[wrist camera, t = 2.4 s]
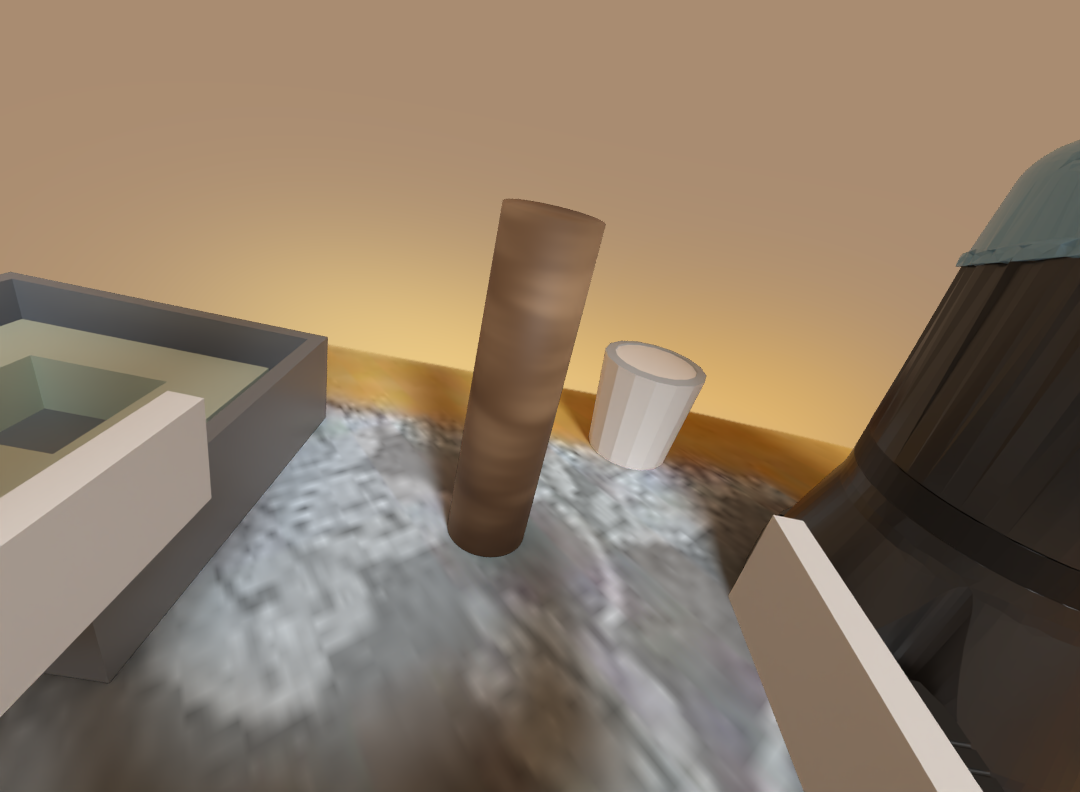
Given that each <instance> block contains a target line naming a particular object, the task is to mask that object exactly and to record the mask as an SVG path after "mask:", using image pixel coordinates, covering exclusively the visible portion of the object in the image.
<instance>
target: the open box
mask: <svg viewBox="0 0 1080 792" xmlns="http://www.w3.org/2000/svg"><path fill="white" fill-rule="evenodd" d="M327 345H328V338H327V337H325V336H320V335H315V334H310V333H305V332H300V331H295V330H291V329H286V328H281V327H276V326H271V325H266V324H261V323H256V322H252V321H247V320H242V319H237V318H232V317H227V316H222V315H218V314H213V313H207V312H203V311H198V310H193V309H188V308H183V307H179V306H174V305H169V304H163V303H159V302H154V301H149V300H144V299H139V298H135V297H129V296H125V295H120V294H115V293H111V292H106V291H100V290H95V289H91V288H86V287H81V286H76V285H72V284H67V283H62V282H57V281H52V280H47V279H42V278H37V277H33V276H28V275H23V274H18V273H13V272H8V273H4V274H0V498H1V497H2V496H4V495H6V494H7V493H9V492H10V491H12V490H13V489H15V488H16V487H18V486H20V485H21V484H23V483H24V482H26V481H27V480H29V479H31V478H32V477H34V476H35V475H37V474H38V473H40V472H41V471H43V470H45V469H46V468H48V467H49V466H51V465H52V464H54V463H56V462H57V461H59V460H60V459H62V458H63V457H65V456H66V455H68V454H70V453H71V452H73V451H74V450H76V449H77V448H79V447H80V446H82V445H84V444H85V443H87V442H88V441H90V440H91V439H93V438H95V437H96V436H98V435H99V434H101V433H102V432H104V431H105V430H107V429H109V428H110V427H112V426H113V425H115V424H116V423H118V422H120V421H121V420H123V419H124V418H126V417H127V416H129V415H130V414H132V413H134V412H135V411H137V410H138V409H140V408H141V407H143V406H145V405H146V404H148V403H149V402H151V401H152V400H154V399H155V398H157V397H159V396H160V395H162V394H163V393H165V392H166V391H171V392H176V393H181V394H186V395H191V396H196V397H201V398H204V403H205V417H206V430H207V444H208V457H209V471H210V484H211V499H210V500H209V501H208V502H207V503H206V504H205V505H204V506H203V507H202V508H201V509H200V510H199V512H198V513H197V514H196V515H195V516H194V517H193V518H192V519H191V520H190V521H189V522H188V523H187V524H186V525H185V526H184V527H183V528H182V529H181V530H180V531H179V532H178V533H177V534H176V535H175V536H174V537H173V539H172V540H171V541H170V542H169V543H168V544H167V545H166V546H165V547H164V548H163V549H162V550H161V551H160V552H159V553H158V554H157V555H156V556H155V557H154V558H153V559H152V560H151V561H150V562H149V563H148V564H147V565H146V567H145V568H144V569H143V570H142V571H141V572H140V573H139V574H138V575H137V576H136V577H135V578H134V579H133V580H132V581H131V582H130V583H129V584H128V585H127V586H126V587H125V588H124V589H123V590H122V591H121V592H120V593H119V595H118V596H117V597H116V598H115V599H114V600H113V601H112V602H111V603H110V604H109V605H108V606H107V607H106V608H105V609H104V610H103V611H102V612H101V613H100V614H99V615H98V616H97V617H96V618H95V619H94V620H93V621H92V623H91V624H90V625H89V626H88V627H87V628H86V629H85V630H84V631H83V632H82V633H81V634H80V635H79V636H78V637H77V638H76V639H75V640H74V641H73V642H72V643H71V644H70V645H69V646H68V647H67V648H66V649H65V651H64V652H63V653H62V654H61V655H60V656H59V657H58V658H57V659H56V660H55V661H54V662H53V663H52V664H51V665H50V666H49V667H48V668H47V669H46V670H45V671H44V672H43V673H46V674H52V675H59V676H66V677H72V678H79V679H85V680H92V681H99V682H105V683H110V682H111V680H112V679H113V678H114V677H115V675H116V674H117V673H118V672H119V671H120V669H121V668H122V667H123V666H124V664H125V663H126V662H127V661H128V660H129V658H130V657H131V656H132V655H133V653H134V652H135V651H136V650H137V648H138V647H139V646H140V645H141V644H142V642H143V641H144V640H145V639H146V637H147V636H148V635H149V634H150V632H151V631H152V630H153V629H154V628H155V626H156V625H157V624H158V623H159V621H160V620H161V619H162V618H163V616H164V615H165V614H166V613H167V612H168V610H169V609H170V608H171V607H172V605H173V604H174V603H175V602H176V601H177V599H178V598H179V597H180V596H181V594H182V593H183V592H184V591H185V589H186V588H187V587H188V586H189V585H190V583H191V582H192V581H193V580H194V578H195V577H196V576H197V575H198V573H199V572H200V571H201V570H202V569H203V567H204V566H205V565H206V564H207V562H208V561H209V560H210V559H211V557H212V556H213V555H214V554H215V553H216V551H217V550H218V549H219V548H220V546H221V545H222V544H223V543H224V542H225V540H226V539H227V538H228V537H229V535H230V534H231V533H232V532H233V530H234V529H235V528H236V527H237V526H238V524H239V523H240V522H241V521H242V519H243V518H244V517H245V516H246V514H247V513H248V512H249V511H250V510H251V508H252V507H253V506H254V505H255V503H256V502H257V501H258V500H259V498H260V497H261V496H262V495H263V494H264V492H265V491H266V490H267V489H268V487H269V486H270V485H271V484H272V482H273V481H274V480H275V479H276V478H277V476H278V475H279V474H280V473H281V471H282V470H283V469H284V468H285V467H286V465H287V464H288V463H289V462H290V460H291V459H292V458H293V457H294V455H295V454H296V453H297V452H298V451H299V449H300V448H301V447H302V446H303V444H304V443H305V442H306V441H307V439H308V438H309V437H310V436H311V435H312V433H313V432H314V431H315V430H316V428H317V427H318V426H319V425H320V423H321V422H322V421H323V420H324V419H325V417H326V386H327Z"/></svg>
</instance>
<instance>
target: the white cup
mask: <svg viewBox="0 0 1080 792" xmlns="http://www.w3.org/2000/svg"><path fill="white" fill-rule="evenodd" d="M705 379H706V375H705V373H704V372H703V370H702V369H701V367H699V366H698V365H697V364H695V363H694V362H692V361H691V360H690V359H688V358H686V357H684V356H682V355H680V354H678V353H676V352H673V351H671V350H668V349H665V348H662V347H659V346H656V345H651V344H646V343H642V342H635V341H618V342H614V343H610V345H609V346H608V347H607V348H606V350H605V355H604V360H603V365H602V370H601V376H600V381H599V386H598V391H597V396H596V401H595V406H594V412H593V417H592V422H591V427H590V432H589V441H590V445H591V446H592V447H593V449H594V450H595V451H596V452H597V453H598V454H599V455H600V456H602V457H603V458H605V459H606V460H608V461H609V462H612V463H614V464H616V465H619V466H621V467H624V468H629V469H634V470H640V471H641V470H652V469H655V468H657V467H659V466H660V465H662V463H663V461H664V459H665V457H666V455H667V453H668V452H669V450H670V448H671V446H672V444H673V442H674V440H675V438H676V436H677V434H678V432H679V430H680V429H681V427H682V425H683V423H684V421H685V419H686V417H687V415H688V413H689V411H690V409H691V408H692V405H693V404H694V402H695V400H696V398H697V396H698V394H699V392H700V390H701V388H702V386H703V385H704V383H705Z"/></svg>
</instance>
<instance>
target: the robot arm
mask: <svg viewBox="0 0 1080 792" xmlns="http://www.w3.org/2000/svg"><path fill="white" fill-rule="evenodd" d="M956 267H961V268H960V270H959V272H958V274H957V275H956V277H955V279H954V280H953V282H952V284H951V286H950V287H949V289H948V291H947V292H946V294H945V296H944V297H943V299H942V301H941V302H940V304H939V306H938V308H937V309H936V311H935V313H934V314H933V316H932V318H931V319H930V321H929V323H928V325H927V326H926V328H925V330H924V331H923V333H922V335H921V337H920V338H919V340H918V342H917V343H916V345H915V347H914V348H913V350H912V352H911V354H910V355H909V357H908V359H907V360H906V362H905V364H904V365H903V367H902V369H901V371H900V372H899V374H898V376H897V377H896V379H895V380H894V382H893V384H892V385H891V387H890V389H889V390H888V392H887V393H886V395H885V397H884V398H883V400H882V402H881V403H880V405H879V407H878V408H877V410H876V412H875V413H874V415H873V416H872V418H871V420H870V422H869V424H868V425H867V427H866V429H865V431H864V432H863V434H862V435H861V437H860V439H859V440H858V442H857V444H856V446H855V447H854V449H853V450H852V452H851V453H850V455H849V456H848V457H847V459H846V460H845V461H844V462H843V463H842V464H841V465H839V466H838V467H837V468H836V469H835V470H833V471H832V472H831V473H830V474H829V475H828V476H826V477H825V478H824V479H823V480H822V481H821V482H820V483H819V484H818V485H816V486H815V487H814V488H813V489H812V490H811V491H810V492H808V493H807V494H806V495H805V496H804V497H803V498H802V499H801V500H800V501H799V502H798V503H797V504H795V505H794V506H793V507H790V508H788V509H786V510H783V511H782V512H781V513H779V514H778V515H773V516H772V518H771V519H770V521H769V523H768V524H767V525H766V526H765V528H764V529H763V531H762V532H761V534H760V536H759V538H758V539H757V541H756V543H755V545H754V547H753V549H752V550H751V552H750V554H749V556H748V558H747V560H746V563H745V567H744V568H743V570H742V572H741V574H740V576H739V578H738V579H737V581H736V583H735V585H734V587H733V588H732V590H731V592H730V594H729V596H728V597H729V599H730V602H731V605H732V607H733V610H734V612H735V615H736V618H737V620H738V623H739V625H740V628H741V630H742V633H743V636H744V638H745V641H746V643H747V646H748V648H749V651H750V654H751V656H752V659H753V661H754V664H755V667H756V669H757V672H758V674H759V677H760V679H761V682H762V685H763V687H764V690H765V692H766V695H767V698H768V700H769V703H770V705H771V708H772V710H773V713H774V716H775V718H776V721H777V723H778V726H779V728H780V731H781V734H782V736H783V739H784V741H785V744H786V747H787V749H788V752H789V754H790V757H791V759H792V762H793V765H794V767H795V770H796V772H797V775H798V778H799V780H800V783H801V785H802V788H803V790H804V792H1080V140H1078V141H1075V142H1073V143H1070V144H1068V145H1065V146H1062V147H1060V148H1058V149H1056V150H1054V151H1053V152H1051V153H1049V154H1048V155H1046V156H1044V157H1043V158H1041V159H1040V160H1038V161H1037V162H1036V163H1034V164H1033V165H1032V166H1031V167H1030V168H1028V169H1027V170H1026V171H1025V172H1024V173H1023V175H1021V177H1020V178H1019V179H1018V181H1017V182H1016V183H1015V185H1014V186H1013V187H1012V189H1011V190H1010V192H1009V194H1008V195H1007V196H1006V198H1005V199H1004V201H1003V202H1002V204H1001V205H1000V207H999V208H998V210H997V211H996V213H995V214H994V216H993V217H992V219H991V220H990V222H989V223H988V225H987V226H986V228H985V229H984V230H983V232H982V233H981V235H980V236H979V238H978V239H977V241H976V242H975V244H974V245H973V247H972V248H971V250H970V251H969V252H966V253H964V254H962V256H961V257H960V258H959V260H958V263H957V264H956ZM210 499H211V484H210V471H209V457H208V444H207V430H206V417H205V403H204V398H201V397H196V396H191V395H186V394H181V393H176V392H171V391H166V392H165V393H163V394H162V395H160V396H159V397H157V398H155V399H154V400H152V401H151V402H149V403H148V404H146V405H145V406H143V407H141V408H140V409H138V410H137V411H135V412H134V413H132V414H130V415H129V416H127V417H126V418H124V419H123V420H121V421H120V422H118V423H116V424H115V425H113V426H112V427H110V428H109V429H107V430H105V431H104V432H102V433H101V434H99V435H98V436H96V437H95V438H93V439H91V440H90V441H88V442H87V443H85V444H84V445H82V446H80V447H79V448H77V449H76V450H74V451H73V452H71V453H70V454H68V455H66V456H65V457H63V458H62V459H60V460H59V461H57V462H56V463H54V464H52V465H51V466H49V467H48V468H46V469H45V470H43V471H41V472H40V473H38V474H37V475H35V476H34V477H32V478H31V479H29V480H27V481H26V482H24V483H23V484H21V485H20V486H18V487H16V488H15V489H13V490H12V491H10V492H9V493H7V494H6V495H4V496H2V497H1V498H0V717H1V716H2V715H3V714H4V713H5V712H6V711H7V710H8V709H9V708H10V707H11V705H12V704H13V703H14V702H15V701H16V700H17V699H18V698H19V697H20V696H21V695H22V694H23V693H24V692H25V691H26V690H27V689H28V688H29V687H30V686H31V685H32V684H33V683H34V682H35V681H36V680H37V679H38V677H39V676H40V675H41V674H42V673H43V672H44V671H45V670H46V669H47V668H48V667H49V666H50V665H51V664H52V663H53V662H54V661H55V660H56V659H57V658H58V657H59V656H60V655H61V654H62V653H63V652H64V651H65V649H66V648H67V647H68V646H69V645H70V644H71V643H72V642H73V641H74V640H75V639H76V638H77V637H78V636H79V635H80V634H81V633H82V632H83V631H84V630H85V629H86V628H87V627H88V626H89V625H90V624H91V623H92V621H93V620H94V619H95V618H96V617H97V616H98V615H99V614H100V613H101V612H102V611H103V610H104V609H105V608H106V607H107V606H108V605H109V604H110V603H111V602H112V601H113V600H114V599H115V598H116V597H117V596H118V595H119V593H120V592H121V591H122V590H123V589H124V588H125V587H126V586H127V585H128V584H129V583H130V582H131V581H132V580H133V579H134V578H135V577H136V576H137V575H138V574H139V573H140V572H141V571H142V570H143V569H144V568H145V567H146V565H147V564H148V563H149V562H150V561H151V560H152V559H153V558H154V557H155V556H156V555H157V554H158V553H159V552H160V551H161V550H162V549H163V548H164V547H165V546H166V545H167V544H168V543H169V542H170V541H171V540H172V539H173V537H174V536H175V535H176V534H177V533H178V532H179V531H180V530H181V529H182V528H183V527H184V526H185V525H186V524H187V523H188V522H189V521H190V520H191V519H192V518H193V517H194V516H195V515H196V514H197V513H198V512H199V510H200V509H201V508H202V507H203V506H204V505H205V504H206V503H207V502H208V501H209V500H210Z"/></svg>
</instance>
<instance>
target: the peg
mask: <svg viewBox="0 0 1080 792" xmlns="http://www.w3.org/2000/svg"><path fill="white" fill-rule="evenodd" d="M605 225H606V224H605V223H604V222H603V221H601V220H599V219H597V218H594V217H592V216H589V215H586V214H583V213H580V212H577V211H573V210H570V209H566V208H562V207H558V206H553V205H549V204H545V203H540V202H534V201H528V200H521V199H504V200H503V202H502V208H501V214H500V220H499V226H498V232H497V237H496V243H495V249H494V255H493V261H492V267H491V273H490V279H489V285H488V290H487V297H486V302H485V308H484V314H483V320H482V325H481V332H480V337H479V343H478V349H477V355H476V361H475V367H474V372H473V378H472V384H471V390H470V396H469V402H468V408H467V414H466V419H465V425H464V431H463V437H462V443H461V449H460V455H459V461H458V466H457V472H456V478H455V484H454V490H453V496H452V502H451V508H450V513H449V519H448V532H449V535H450V537H451V539H452V540H453V541H454V542H455V543H456V544H457V545H458V546H459V547H460V548H462V549H463V550H465V551H467V552H469V553H471V554H474V555H478V556H483V557H499V556H503V555H507V554H509V553H511V552H513V551H514V550H515V549H517V548H518V547H519V545H520V544H521V542H522V540H523V537H524V533H525V529H526V526H527V522H528V518H529V514H530V510H531V507H532V503H533V499H534V495H535V491H536V488H537V484H538V480H539V476H540V472H541V469H542V465H543V461H544V457H545V453H546V450H547V446H548V442H549V438H550V434H551V431H552V427H553V423H554V419H555V415H556V412H557V408H558V404H559V400H560V396H561V393H562V389H563V385H564V381H565V377H566V373H567V370H568V366H569V362H570V358H571V355H572V350H573V346H574V343H575V339H576V335H577V332H578V328H579V324H580V320H581V316H582V312H583V309H584V305H585V301H586V297H587V294H588V290H589V286H590V282H591V278H592V275H593V271H594V267H595V263H596V259H597V256H598V252H599V248H600V244H601V240H602V237H603V233H604V229H605Z"/></svg>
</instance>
